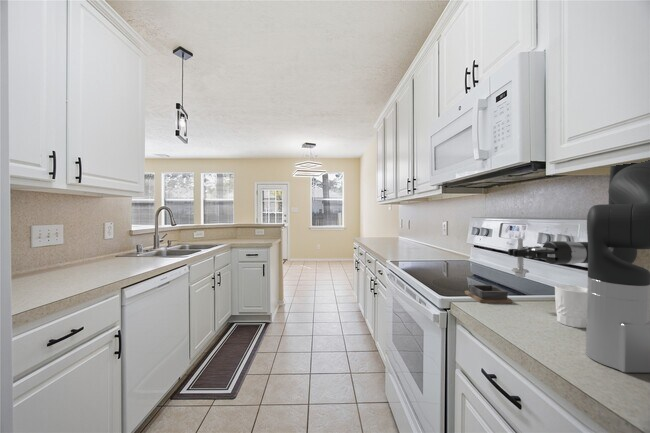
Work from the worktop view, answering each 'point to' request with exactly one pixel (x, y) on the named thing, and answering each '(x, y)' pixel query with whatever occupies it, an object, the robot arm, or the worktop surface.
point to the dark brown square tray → (488, 294)
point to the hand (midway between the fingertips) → (511, 252)
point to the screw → (520, 262)
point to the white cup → (571, 305)
